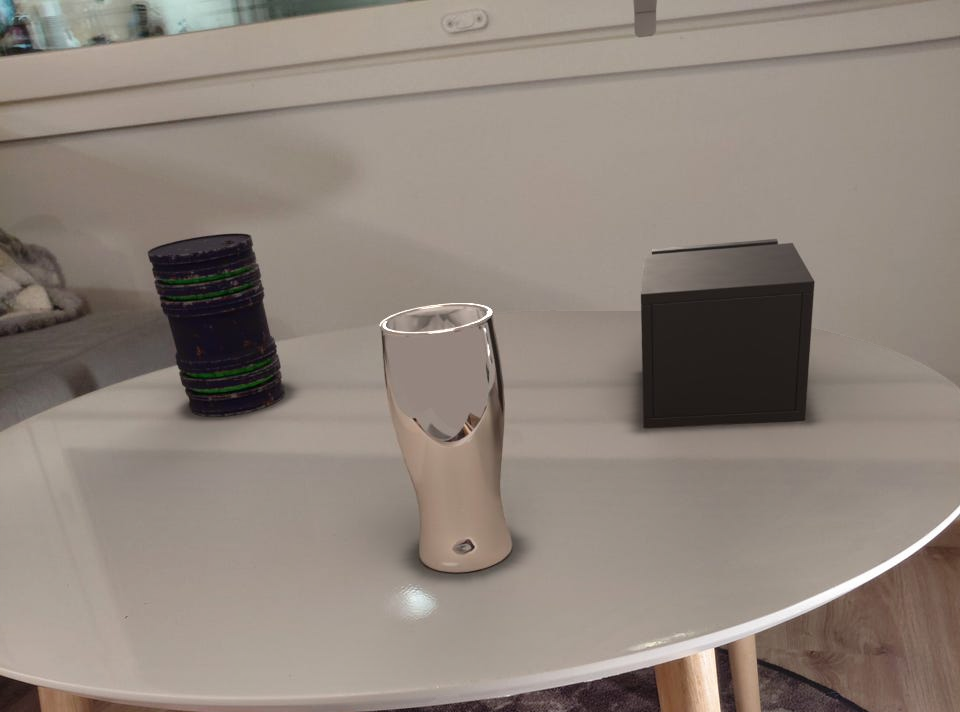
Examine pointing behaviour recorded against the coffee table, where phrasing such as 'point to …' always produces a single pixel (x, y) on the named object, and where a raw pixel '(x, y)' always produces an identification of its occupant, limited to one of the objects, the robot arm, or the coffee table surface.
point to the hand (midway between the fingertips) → (645, 35)
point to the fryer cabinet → (725, 336)
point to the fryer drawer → (715, 246)
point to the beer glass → (450, 429)
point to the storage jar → (218, 323)
